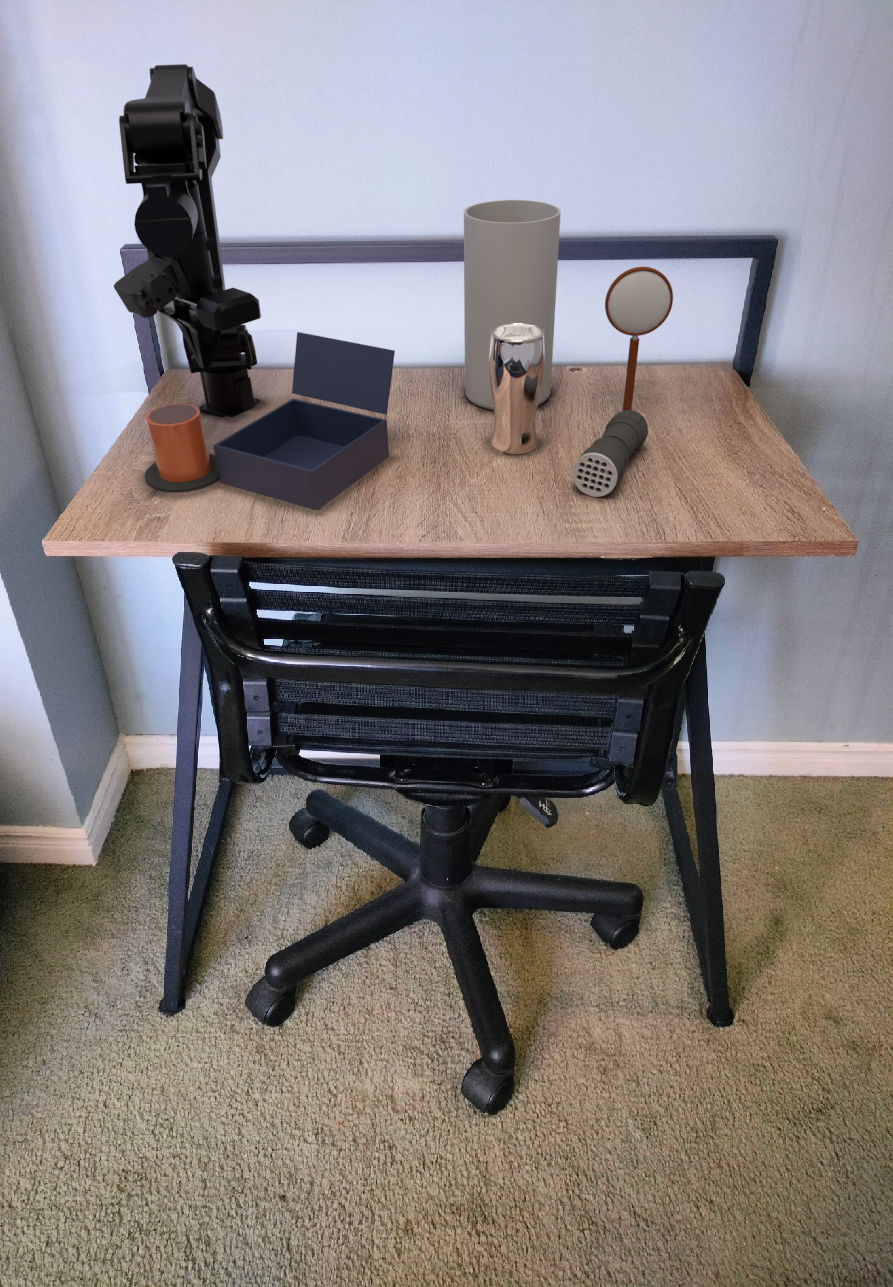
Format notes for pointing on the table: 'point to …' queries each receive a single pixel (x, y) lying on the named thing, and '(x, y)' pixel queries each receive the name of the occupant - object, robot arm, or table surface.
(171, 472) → the cup
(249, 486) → the carton
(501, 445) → the beer glass
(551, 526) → the table surface
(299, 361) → the flap
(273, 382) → the table surface
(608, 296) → the magnifying glass
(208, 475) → the disc
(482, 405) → the cylinder vase
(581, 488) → the flashlight
